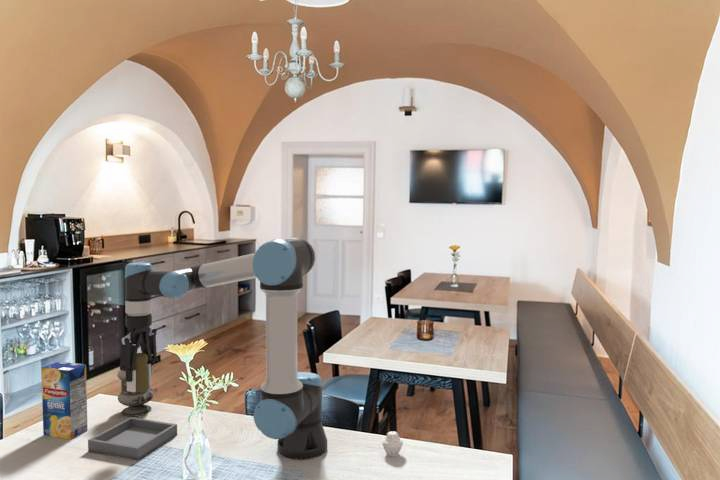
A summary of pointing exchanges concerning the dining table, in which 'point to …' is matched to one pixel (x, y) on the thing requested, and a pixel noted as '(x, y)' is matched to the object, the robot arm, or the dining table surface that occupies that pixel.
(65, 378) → the beverage box
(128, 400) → the stone urn vase
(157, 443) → the box
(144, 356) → the olive pawn figure
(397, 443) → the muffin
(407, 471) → the dining table surface
